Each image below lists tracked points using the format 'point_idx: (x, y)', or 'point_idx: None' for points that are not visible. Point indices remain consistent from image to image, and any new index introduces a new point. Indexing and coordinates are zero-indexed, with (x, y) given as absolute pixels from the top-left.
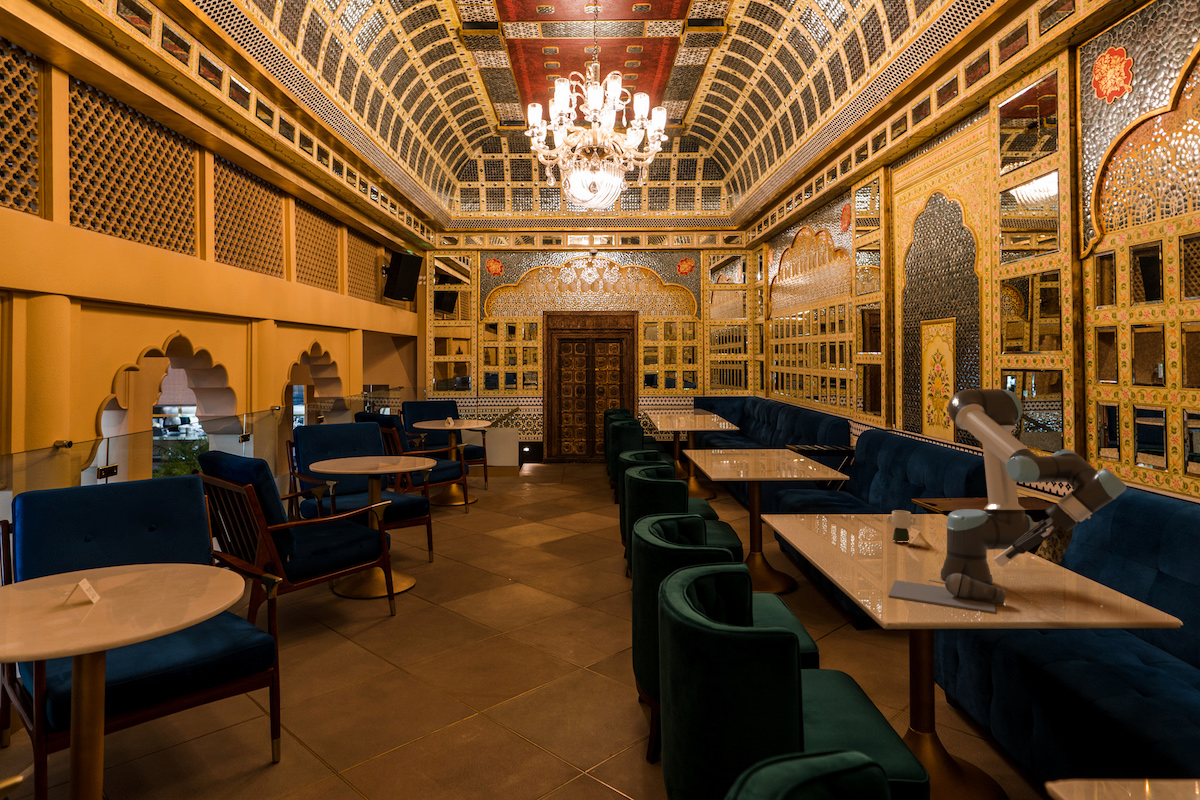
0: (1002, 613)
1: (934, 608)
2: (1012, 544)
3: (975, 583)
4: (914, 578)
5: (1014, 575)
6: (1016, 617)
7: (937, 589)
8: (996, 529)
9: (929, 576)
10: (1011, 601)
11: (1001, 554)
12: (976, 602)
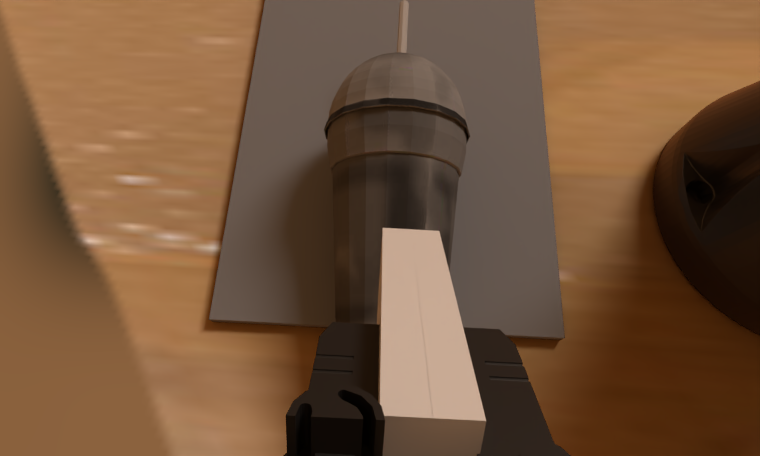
0: (233, 358)
1: (189, 75)
2: (296, 406)
3: (358, 191)
4: (642, 12)
5: None
6: (186, 427)
7: (479, 85)
8: None
9: (731, 66)
10: None
11: (381, 279)
12: None
